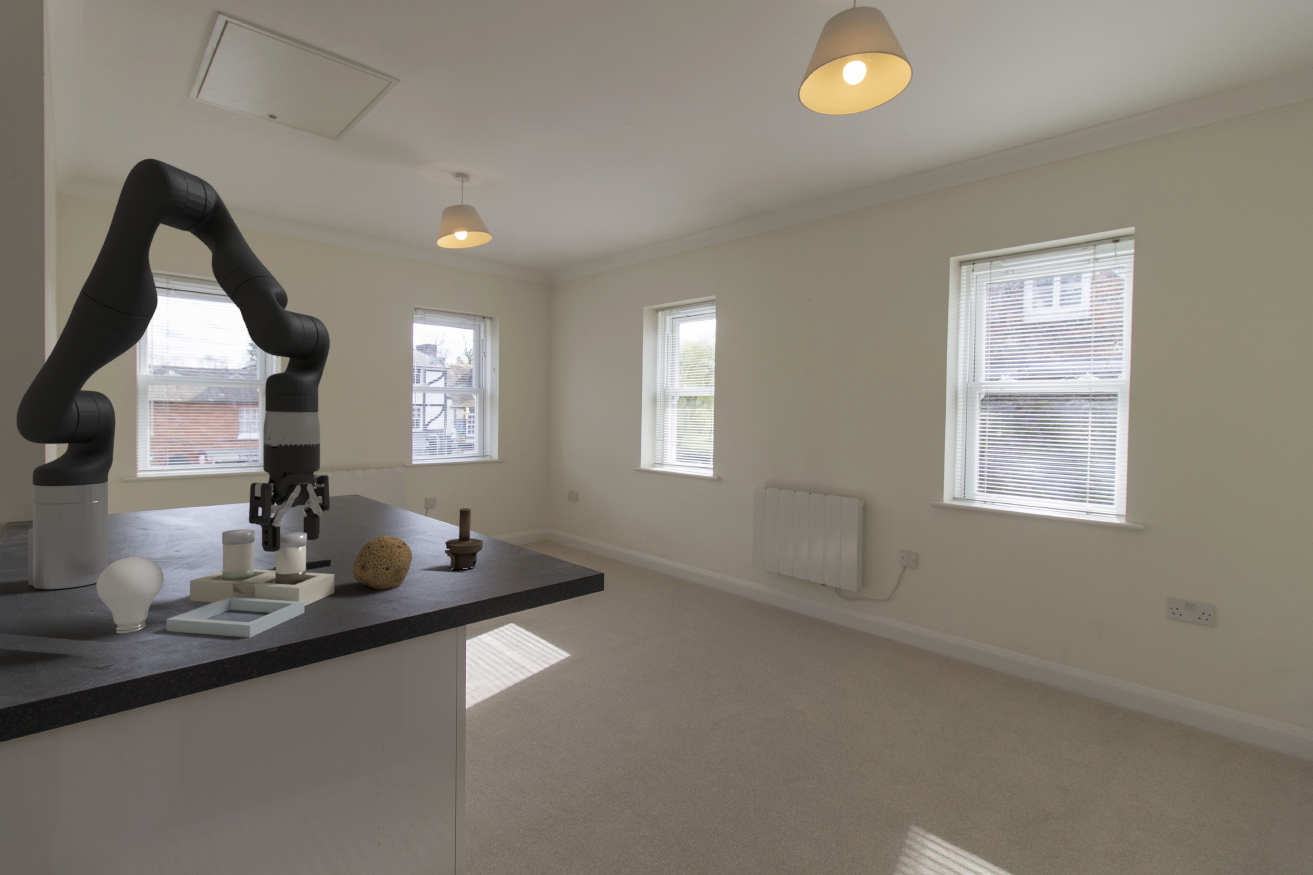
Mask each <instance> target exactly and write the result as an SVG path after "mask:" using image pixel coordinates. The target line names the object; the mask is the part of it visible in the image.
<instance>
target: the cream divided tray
mask: <svg viewBox="0 0 1313 875" xmlns="http://www.w3.org/2000/svg"><path fill="white" fill-rule="evenodd" d="M222 571H223V570H221V571H218V572H215V573H211V574H209V575H204V576H201V577H198V578H194V579H191V580H189V601H190V602H203V603H214V602H216V601H219V600H222V599H225V598H228V597H239V598H254V599H268V600H283V601H297V602H304V607H305V606H308V605H310V604H312V603H315V602H317V601H319V600H321V599H323V598H326V597H328V596H331V595H332V594H334V593H335V573H322V572H321V573H319V572H306V581H303V582H301V583H298V584H296V585H287V584H275V572H276V571H275V570H267V569H258V568H257V569H256V568H254V577H252V578H249V579H246V580H243V581H227V580H223V579H222Z"/></svg>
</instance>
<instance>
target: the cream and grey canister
mask: <svg viewBox="0 0 1313 875" xmlns="http://www.w3.org/2000/svg"><path fill="white" fill-rule="evenodd" d="M307 543H308V540H307V533H304V531H293V532H292V531H291V532H280V550H279V551H275V567H276V572H275V584H287V585H296V584H298V583H301V582H303V581H306V573H307V570H306V563H307V545H308V544H307Z"/></svg>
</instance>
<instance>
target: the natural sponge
mask: <svg viewBox="0 0 1313 875" xmlns="http://www.w3.org/2000/svg"><path fill="white" fill-rule="evenodd" d="M362 546H363V547H361V549H360V551H359V552H358V555H357V556H356V558H355V560H354V562H353V566H352V574H353V577H354V579H355V580H356V581H357V582H358V583H359V584H362V585H365V586H368V587H370V588H372V589H374V590H389V589H395V588H398V587H400V586H401V585H402V584H403V582H404V581H405V579H406V578H407V575H408V573H409V571H410V568H411V564H412V559H413V553H412V549H411V548H410V546H409V545H408V544H407V542H405V541H404V540H403V539H401V538H399V537H396V536H391V535H381V536H377V537H374V538H372V539H371V540H369V541H368V542H366V543H365V544H364V545H362Z"/></svg>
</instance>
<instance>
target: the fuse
mask: <svg viewBox="0 0 1313 875" xmlns="http://www.w3.org/2000/svg"><path fill="white" fill-rule="evenodd" d="M255 534H256V531H255V529H251V528H250V529H247V528H245V529H244V528H243V529H241V528H239V529H231V530H226V531H223V532H221V544H222V570H221V571H222V579H223V580H227V581H243V580H246V579H249V578H252V577H254V569H255V561H254V560H255V558H254V557H255V552H254V551H255V539H256V538H255V537H256V535H255Z"/></svg>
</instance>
